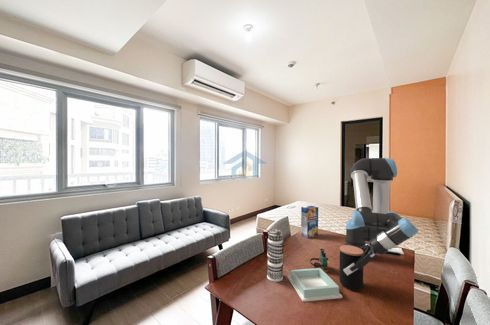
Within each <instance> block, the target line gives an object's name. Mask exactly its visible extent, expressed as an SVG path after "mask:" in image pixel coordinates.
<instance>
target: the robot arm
mask: <svg viewBox="0 0 490 325" xmlns="http://www.w3.org/2000/svg"><path fill="white" fill-rule="evenodd" d="M397 176H398V167H397V165H396V162H395V159H393V158H387V157H377V158H373V157H371V158H370V157H365V158H360V159H359V160H357V161H356V162H355V163H354V164H353V165H352V167H351V169H350V178H351V179H352V182H353V183H352V184H353V185H352V186H353V191H354V202H355V210H353V211H352V219H348V220H347V221H346V222H345V223H346V224H345V243H344V245H350V246H355V247H358V248H360V249H362V250H363V256H362V257H361V258H360V259H359V260H358V261H357V262H356V263H355V262H353V264H351V265H350V266H348V267H347V268H345V269H344V270H343V271H344V272H345V273H346V274H347V276H348V275H349V274H351V273H352V272H354V271H356V270H357V269H359V270H361V269H362V268H363V269H364V267H365V266H366V265H368V264H369V263H370V262H371V261H373V259H375V258H377V253H378V254H379V255H381V256H382V255H385V254H387V253H388V252H389V250H390V251H392V250H393V249H397V246H399V245H400V244H402V243H405V241H407V240H409V239H411V238H413V237H414V236H415V235H416V234H418V233H419V229H418V228H417V226H415V225H414V223H412V222H411V220H409V219H407V218H405V217H403V218H402V216H401V215H400V214H398V213H397V212H395V211H390V191H391V190H390V189H391V188H390V187H391V182H393V180H394V178H396V177H397ZM369 177H370V180H371V181H372V182H373V188H372V189H373V190H372V191H373V192H372V195H373V196H372V201H371V196H370V188H369V183H368V178H369ZM371 202H372V203H371ZM367 242H369V243H368V244H367ZM359 265H360V266H359Z"/></svg>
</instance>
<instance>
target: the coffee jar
mask: <svg viewBox="0 0 490 325" xmlns="http://www.w3.org/2000/svg"><path fill="white" fill-rule="evenodd" d="M339 250H340V251H339V271H338V272H339V278H338V280H339V283H340V284H341V286H342V287H344V289H345V288H346V289H347V290H350V291H353V292H354V291H355V292H356V291H357V292H359V291H361V290H362V289H363V288H364V267H363V268H362V269H361V270H359V269H357V270H356V271H354V272H352V273H351V274H349V275H348V276H347V274H346V273H345V272H344V271H343V270H344V269H345V268H347V267H348V266H350V265H351V264H353V262H355V263H356V262H357V261H358V260H359V259H360V258H361V257H362V256H363V250H362V249H360V248H358V247H355V246H350V245H345V244H344V245H343V244H342V245H340V246H339ZM359 266H360V265H359Z"/></svg>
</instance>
